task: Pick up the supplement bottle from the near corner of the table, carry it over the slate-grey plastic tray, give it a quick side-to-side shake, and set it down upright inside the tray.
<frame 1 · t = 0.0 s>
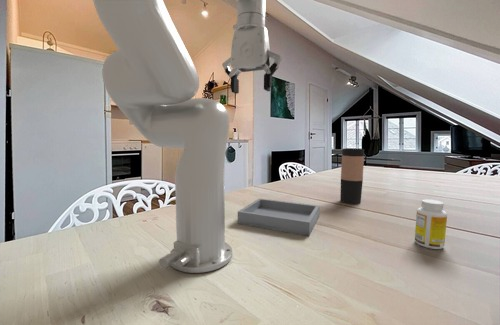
hand: (250, 91, 68), 37 cm above the table, tool pointing down, fingers open, 9 cm apart
tray: (280, 220, 72), on the table
supplement bottle: (428, 245, 57), on the table
travel mug: (350, 202, 93), on the table
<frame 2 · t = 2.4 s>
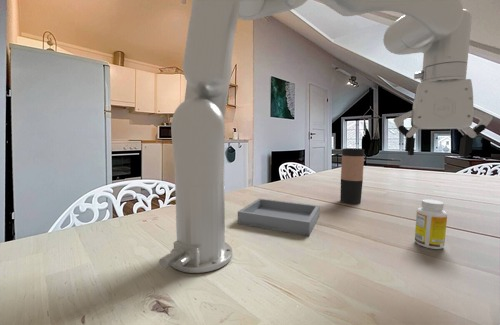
hand: (436, 155, 54), 21 cm above the table, tool pointing down, fingers open, 9 cm apart
nothing on the table moved.
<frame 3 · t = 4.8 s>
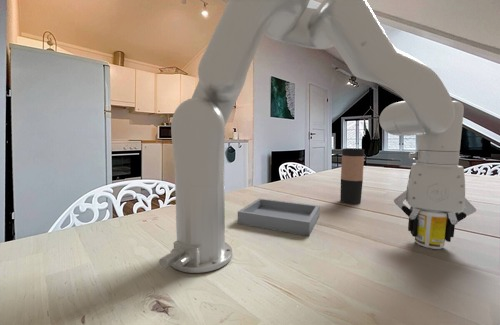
hand: (429, 236, 56), 2 cm above the table, tool pointing down, fingers closed on supplement bottle, 5 cm apart
supplement bottle: (428, 245, 57), on the table, touching gripper
everything else where it was.
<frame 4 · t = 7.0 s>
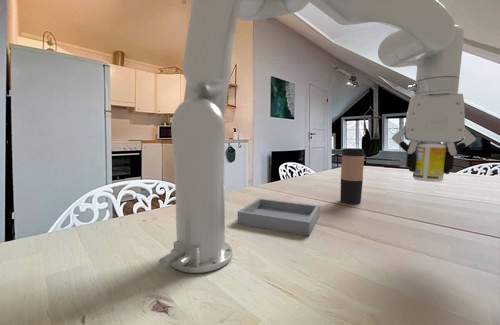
hand: (427, 171, 55), 17 cm above the table, tool pointing down, fingers closed on supplement bottle, 5 cm apart
supplement bottle: (427, 181, 55), point 15 cm above the table, touching gripper
everything else where it was.
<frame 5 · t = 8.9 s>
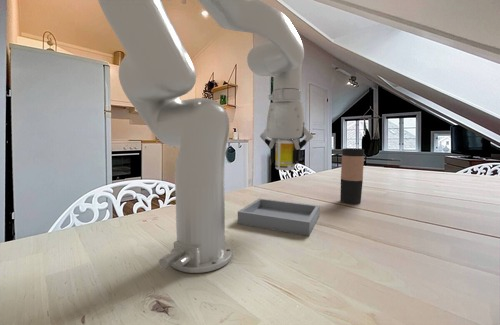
hand: (284, 162, 70), 17 cm above the table, tool pointing down, fingers closed on supplement bottle, 5 cm apart
supplement bottle: (284, 170, 70), point 15 cm above the table, touching gripper
everything else where it was.
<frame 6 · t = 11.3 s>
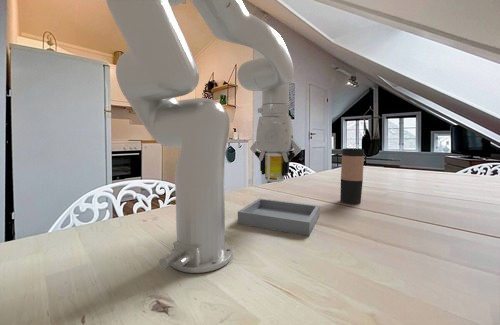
hand: (274, 174, 72), 14 cm above the table, tool pointing down, fingers closed on supplement bottle, 5 cm apart
supplement bottle: (274, 181, 72), point 11 cm above the table, touching gripper
everything else where it was.
when the fingers open (4 cm above the table, at t = 13.3 s): supplement bottle drops 1 cm, resting on tray.
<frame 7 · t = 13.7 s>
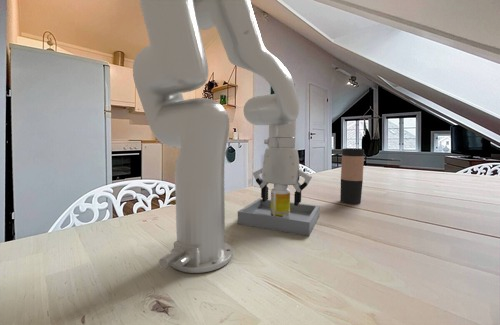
hand: (280, 202, 72), 5 cm above the table, tool pointing down, fingers open, 9 cm apart
supplement bottle: (280, 217, 72), point 1 cm above the table, touching tray
everything else where it was.
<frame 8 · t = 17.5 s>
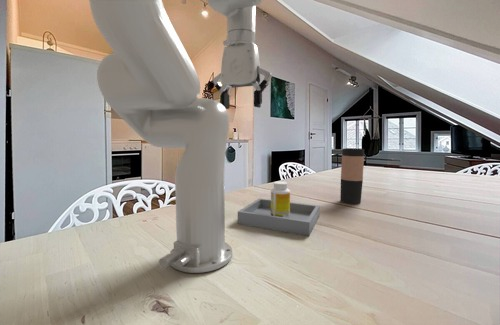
hand: (241, 107, 67), 32 cm above the table, tool pointing down, fingers open, 9 cm apart
nothing on the table moved.
at the end: supplement bottle inside the target area on the tray (0.1 cm from its centre), point 0.8 cm above the tray's base; supplement bottle tilted 0°; the gripper is holding nothing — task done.
